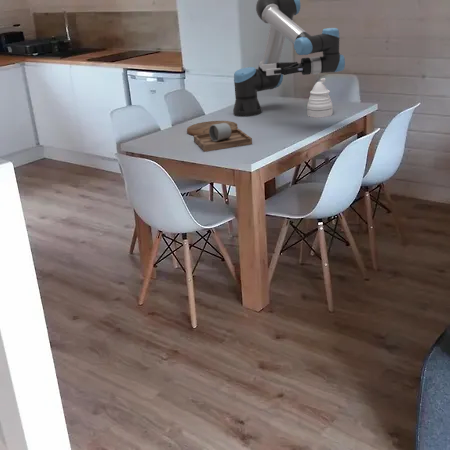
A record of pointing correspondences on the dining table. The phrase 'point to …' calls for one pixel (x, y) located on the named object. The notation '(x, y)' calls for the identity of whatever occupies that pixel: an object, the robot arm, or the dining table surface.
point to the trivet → (207, 127)
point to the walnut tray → (222, 141)
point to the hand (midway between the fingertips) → (264, 70)
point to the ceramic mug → (220, 131)
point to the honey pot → (319, 101)
